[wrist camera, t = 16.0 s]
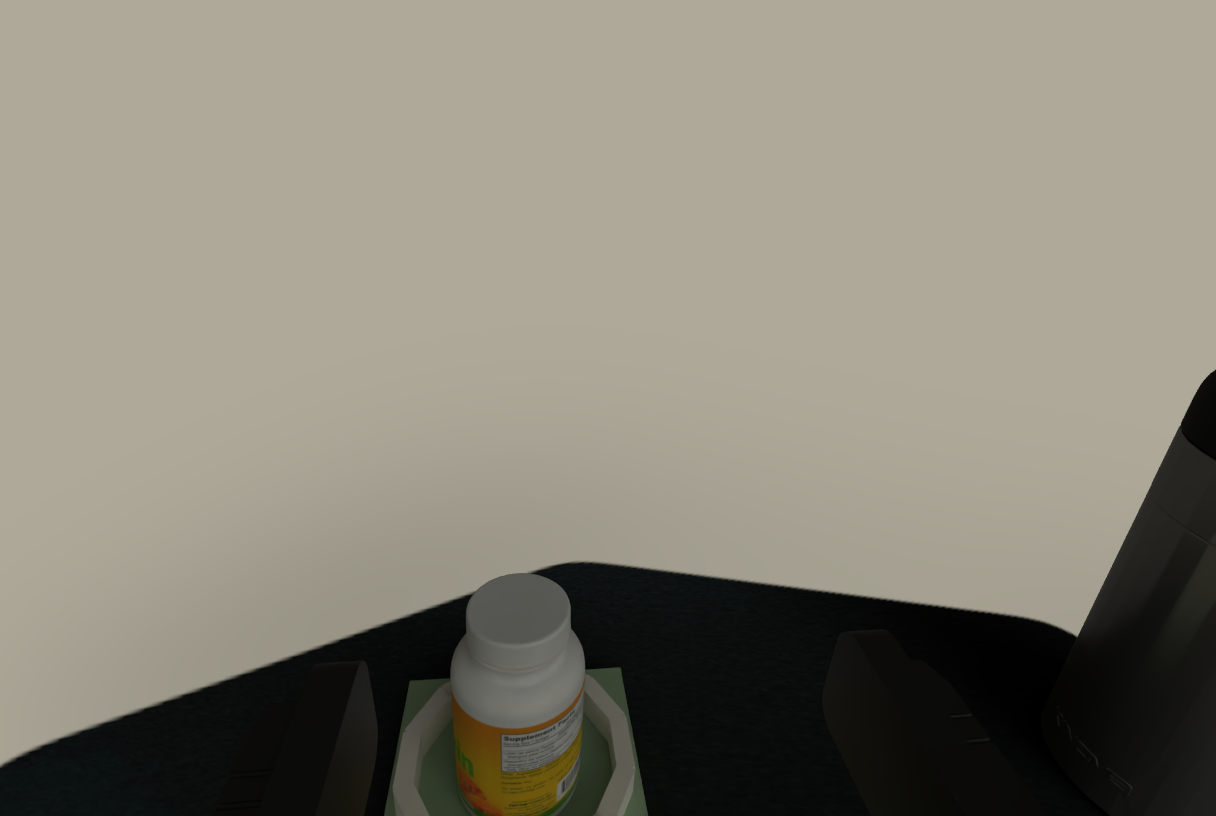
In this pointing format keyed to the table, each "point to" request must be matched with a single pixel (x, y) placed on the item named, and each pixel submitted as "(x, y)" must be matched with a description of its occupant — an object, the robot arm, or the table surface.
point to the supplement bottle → (517, 699)
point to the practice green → (426, 766)
